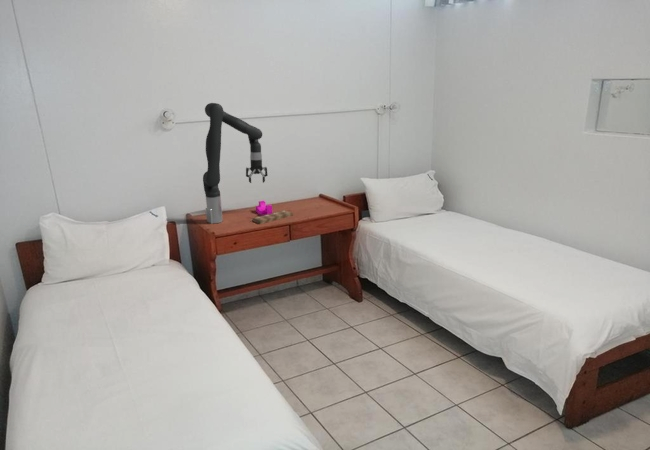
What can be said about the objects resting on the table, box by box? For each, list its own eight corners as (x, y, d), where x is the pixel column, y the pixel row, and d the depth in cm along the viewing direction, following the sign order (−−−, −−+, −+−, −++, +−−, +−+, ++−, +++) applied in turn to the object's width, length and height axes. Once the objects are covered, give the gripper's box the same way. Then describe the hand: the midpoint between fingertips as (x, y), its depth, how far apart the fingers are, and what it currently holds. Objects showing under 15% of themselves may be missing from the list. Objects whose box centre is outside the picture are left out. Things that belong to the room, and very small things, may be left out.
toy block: (255, 212, 326) (255, 201, 323) (264, 210, 328) (263, 200, 326) (264, 217, 313) (263, 206, 311) (272, 216, 316) (272, 205, 314)
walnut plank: (260, 224, 299) (260, 220, 298) (252, 221, 305) (252, 217, 304) (292, 215, 315) (292, 212, 314) (284, 213, 321) (284, 210, 321)
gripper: (245, 160, 306) (246, 184, 311) (267, 159, 309) (268, 183, 314) (244, 158, 313) (246, 182, 318) (266, 157, 316) (267, 181, 321)
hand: (257, 182), depth 316 cm, fingers open, 8 cm apart
